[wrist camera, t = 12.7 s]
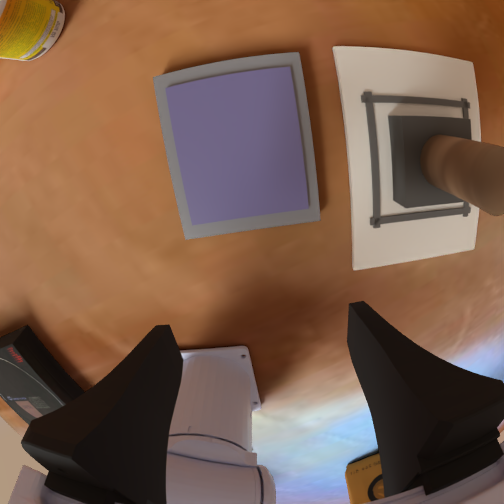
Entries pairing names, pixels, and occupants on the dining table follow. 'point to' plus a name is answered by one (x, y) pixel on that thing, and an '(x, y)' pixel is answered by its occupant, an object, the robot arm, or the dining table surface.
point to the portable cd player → (32, 376)
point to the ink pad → (239, 144)
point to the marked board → (379, 150)
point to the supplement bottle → (29, 27)
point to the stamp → (444, 164)
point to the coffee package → (365, 480)
